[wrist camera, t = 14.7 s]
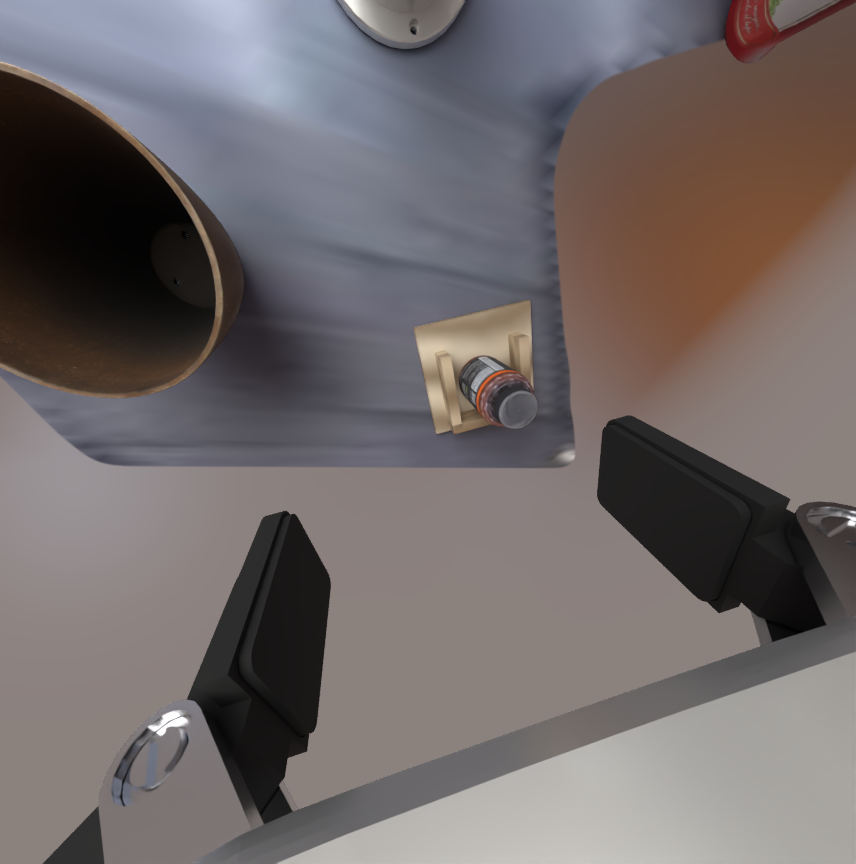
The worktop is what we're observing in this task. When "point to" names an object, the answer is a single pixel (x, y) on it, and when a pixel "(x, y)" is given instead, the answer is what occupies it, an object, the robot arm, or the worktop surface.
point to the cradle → (460, 342)
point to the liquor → (771, 23)
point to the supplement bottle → (498, 392)
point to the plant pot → (102, 252)
